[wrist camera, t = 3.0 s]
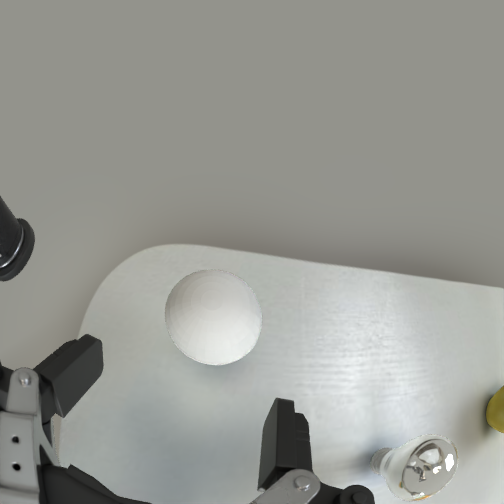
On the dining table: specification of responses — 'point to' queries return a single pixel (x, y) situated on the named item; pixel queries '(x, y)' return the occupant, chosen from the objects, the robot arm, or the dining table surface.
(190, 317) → the lollipop
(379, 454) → the light bulb
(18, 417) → the robot arm
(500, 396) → the flower pot
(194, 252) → the dining table surface
